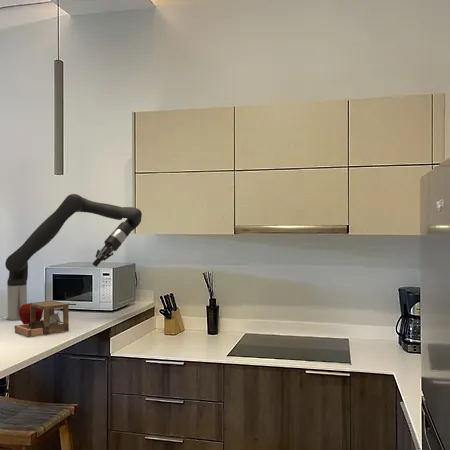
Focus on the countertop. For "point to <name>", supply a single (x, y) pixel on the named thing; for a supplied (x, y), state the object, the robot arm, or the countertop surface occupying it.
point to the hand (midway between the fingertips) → (94, 265)
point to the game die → (53, 319)
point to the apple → (25, 313)
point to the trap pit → (28, 331)
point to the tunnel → (48, 309)
